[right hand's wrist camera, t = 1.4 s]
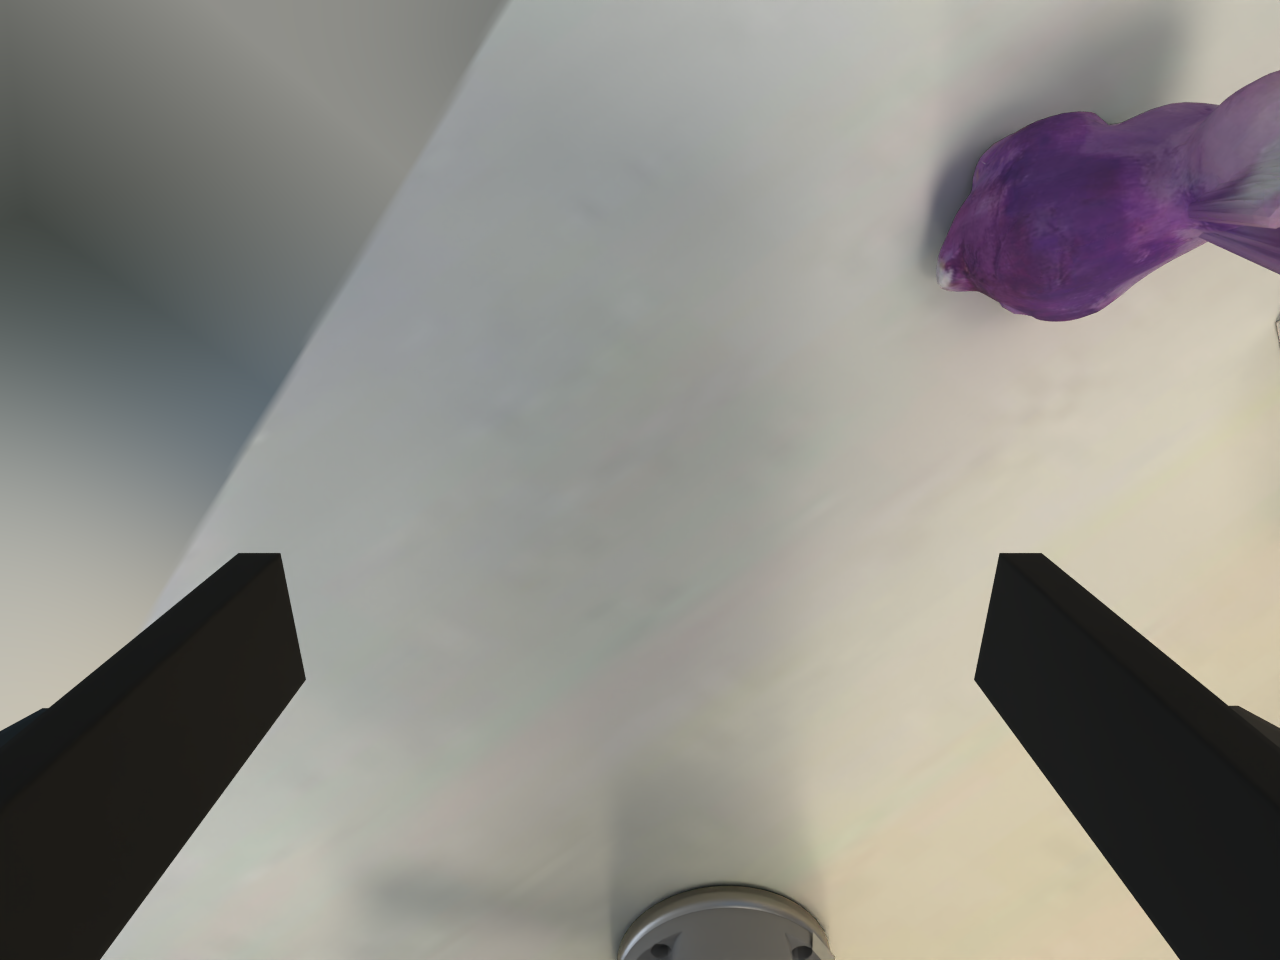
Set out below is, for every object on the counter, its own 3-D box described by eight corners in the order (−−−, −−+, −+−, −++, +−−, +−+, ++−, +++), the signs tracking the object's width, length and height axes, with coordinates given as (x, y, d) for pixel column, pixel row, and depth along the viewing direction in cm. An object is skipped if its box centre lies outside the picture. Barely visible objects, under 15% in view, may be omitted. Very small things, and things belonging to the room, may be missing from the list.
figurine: (1199, 106, 30) (1683, 8, 16) (1090, 334, 34) (1411, 415, 20) (1001, 46, 29) (1329, -113, 15) (910, 286, 33) (1111, 334, 19)
